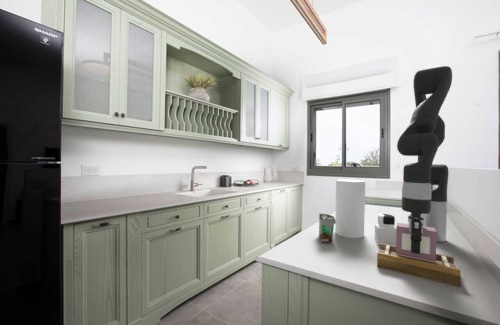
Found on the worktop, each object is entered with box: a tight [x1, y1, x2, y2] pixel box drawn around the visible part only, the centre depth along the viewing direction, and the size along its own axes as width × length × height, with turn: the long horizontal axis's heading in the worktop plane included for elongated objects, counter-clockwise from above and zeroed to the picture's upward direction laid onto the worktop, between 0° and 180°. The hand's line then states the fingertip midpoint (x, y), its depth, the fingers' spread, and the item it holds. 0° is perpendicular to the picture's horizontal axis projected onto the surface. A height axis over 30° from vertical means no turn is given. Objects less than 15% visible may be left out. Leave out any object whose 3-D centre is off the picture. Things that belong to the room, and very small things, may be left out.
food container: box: [318, 212, 336, 244], centre depth 99 cm, size 12×6×10 cm, turn 168°
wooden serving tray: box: [376, 243, 462, 287], centre depth 73 cm, size 11×20×4 cm, turn 56°
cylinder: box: [334, 178, 366, 239], centre depth 108 cm, size 12×12×25 cm
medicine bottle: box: [374, 213, 397, 246], centre depth 95 cm, size 7×7×12 cm
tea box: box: [396, 222, 437, 262], centre depth 73 cm, size 10×5×9 cm, turn 56°
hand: (414, 249), depth 73 cm, fingers closed on tea box, 5 cm apart
